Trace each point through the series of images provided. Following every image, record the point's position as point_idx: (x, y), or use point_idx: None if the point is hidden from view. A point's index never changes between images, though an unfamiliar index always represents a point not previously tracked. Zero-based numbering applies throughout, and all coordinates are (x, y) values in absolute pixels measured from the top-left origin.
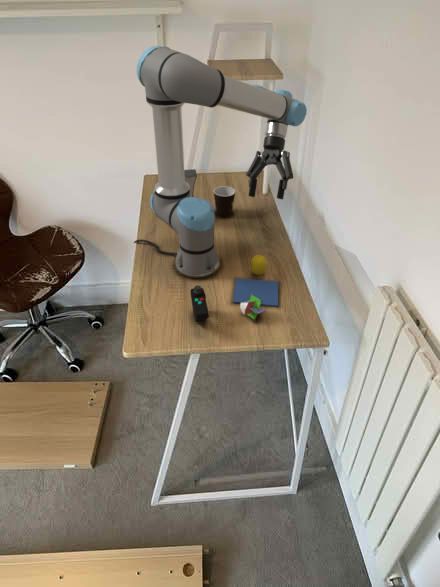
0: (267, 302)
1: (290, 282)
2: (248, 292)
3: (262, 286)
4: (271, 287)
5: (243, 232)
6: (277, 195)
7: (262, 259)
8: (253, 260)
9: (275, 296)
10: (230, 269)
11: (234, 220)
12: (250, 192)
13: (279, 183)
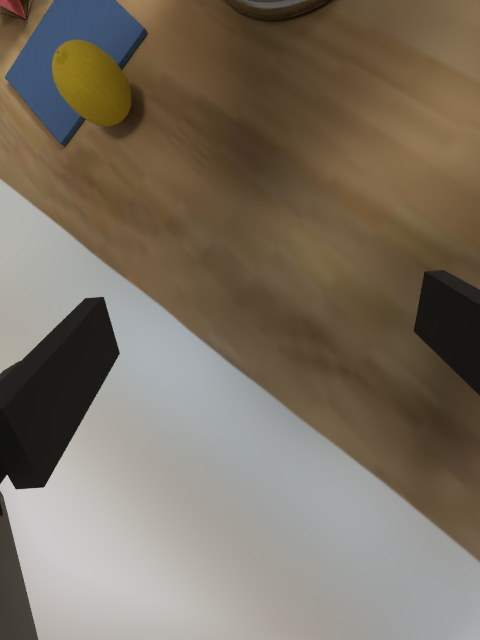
0: (24, 57)
1: (47, 180)
2: (77, 29)
3: None
4: (54, 106)
5: (361, 243)
6: (91, 307)
7: (52, 66)
8: (77, 40)
9: (27, 93)
10: (198, 43)
11: None
12: (443, 284)
13: (31, 372)
